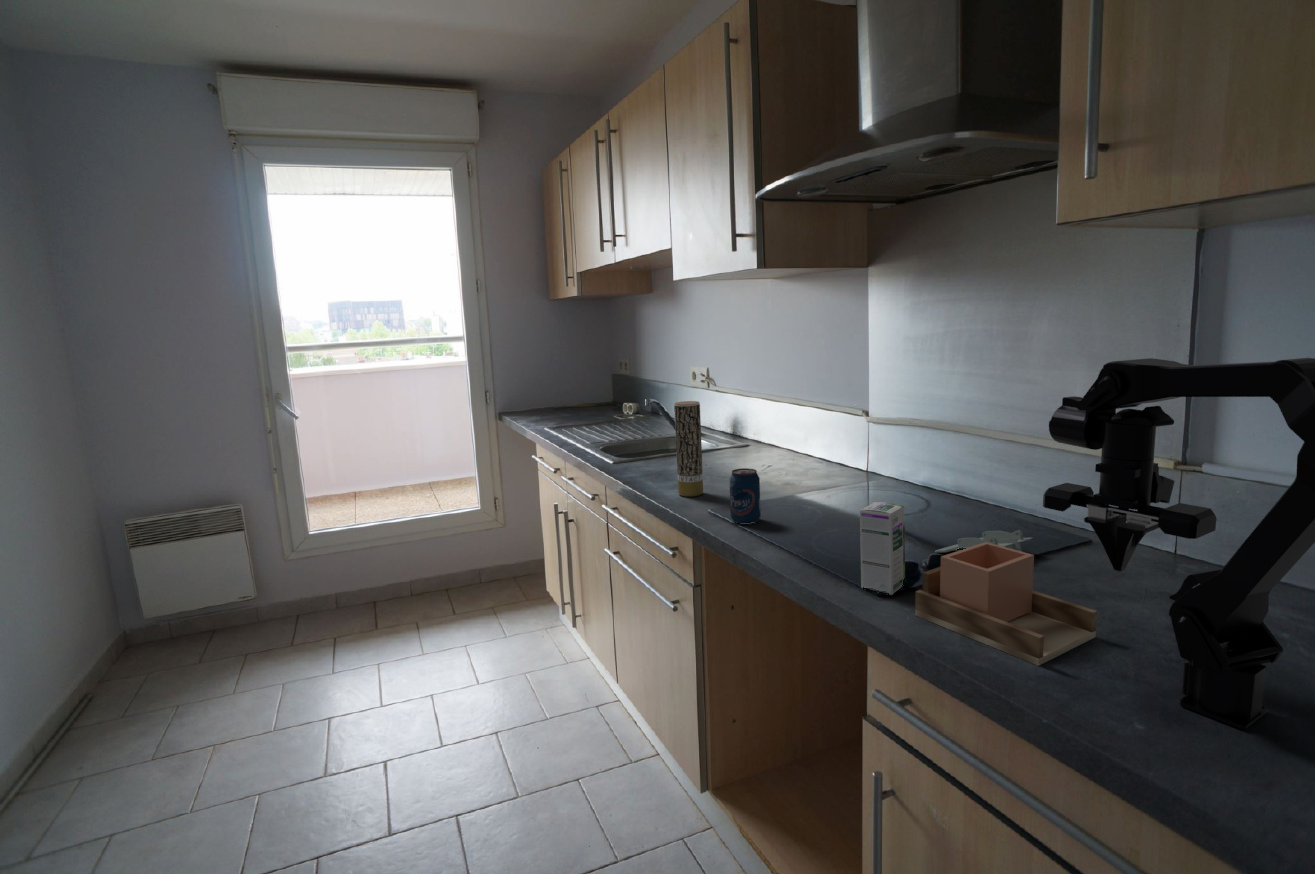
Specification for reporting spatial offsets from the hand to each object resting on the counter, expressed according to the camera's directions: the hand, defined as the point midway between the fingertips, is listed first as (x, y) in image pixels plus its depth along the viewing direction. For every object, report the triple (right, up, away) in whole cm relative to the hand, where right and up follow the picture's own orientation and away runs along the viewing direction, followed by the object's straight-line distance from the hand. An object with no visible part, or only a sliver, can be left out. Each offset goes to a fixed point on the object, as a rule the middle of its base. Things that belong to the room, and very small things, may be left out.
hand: (1119, 570), depth 95 cm
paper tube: (-53, +2, +97) cm, 111 cm away
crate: (-11, -9, +14) cm, 20 cm away
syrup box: (-23, -9, +29) cm, 38 cm away
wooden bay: (-10, -11, +12) cm, 19 cm away
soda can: (-41, -2, +71) cm, 82 cm away
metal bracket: (+2, -5, +43) cm, 43 cm away
